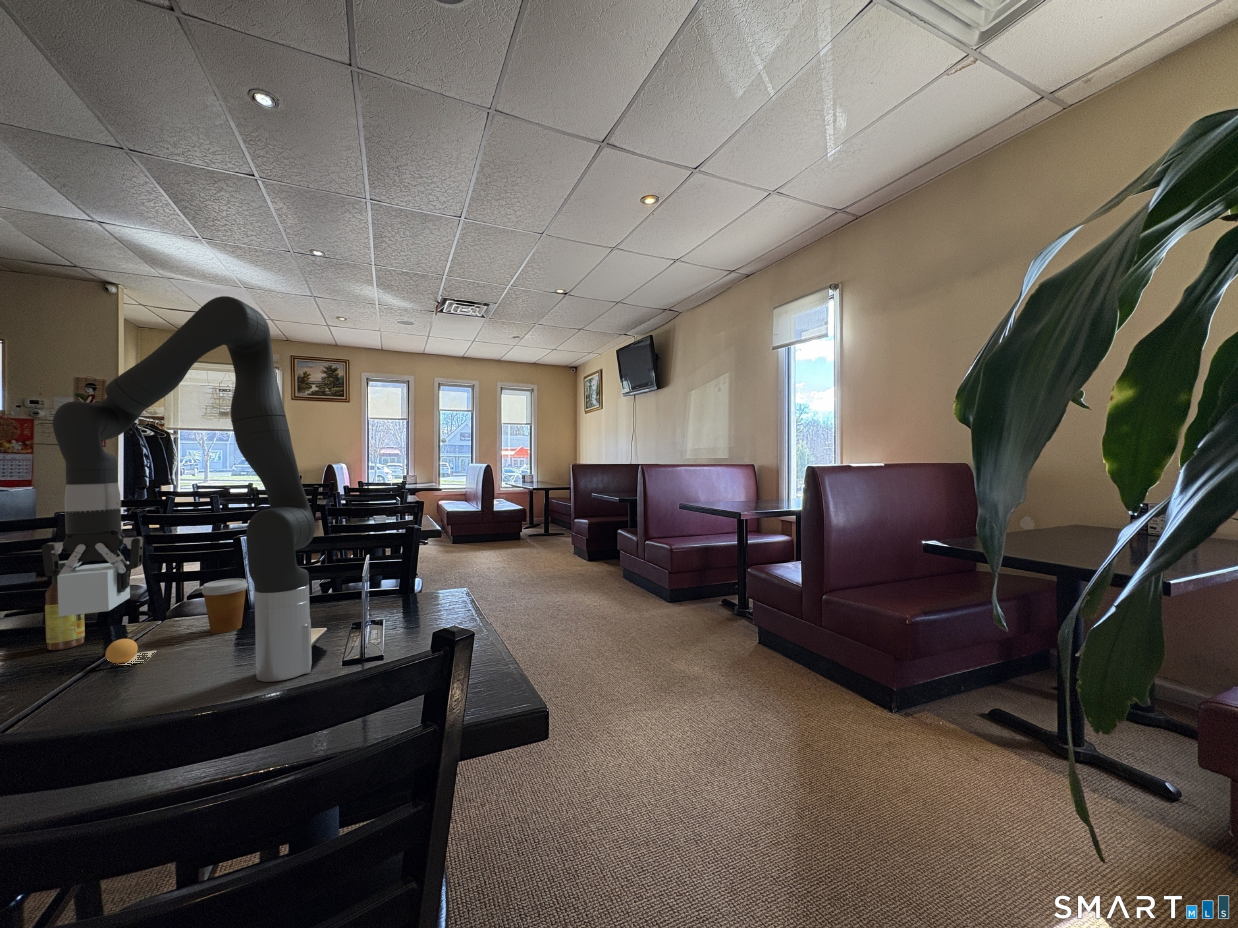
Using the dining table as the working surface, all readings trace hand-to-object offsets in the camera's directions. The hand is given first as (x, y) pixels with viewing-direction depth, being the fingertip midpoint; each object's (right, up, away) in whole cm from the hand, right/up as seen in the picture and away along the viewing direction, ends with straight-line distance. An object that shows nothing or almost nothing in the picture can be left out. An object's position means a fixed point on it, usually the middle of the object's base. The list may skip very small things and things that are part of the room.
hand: (96, 594), depth 100 cm
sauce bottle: (-29, -18, +22) cm, 41 cm away
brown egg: (-6, -15, +12) cm, 20 cm away
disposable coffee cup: (0, -17, +33) cm, 37 cm away
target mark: (-6, -18, +13) cm, 23 cm away
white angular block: (0, -2, 0) cm, 2 cm away
